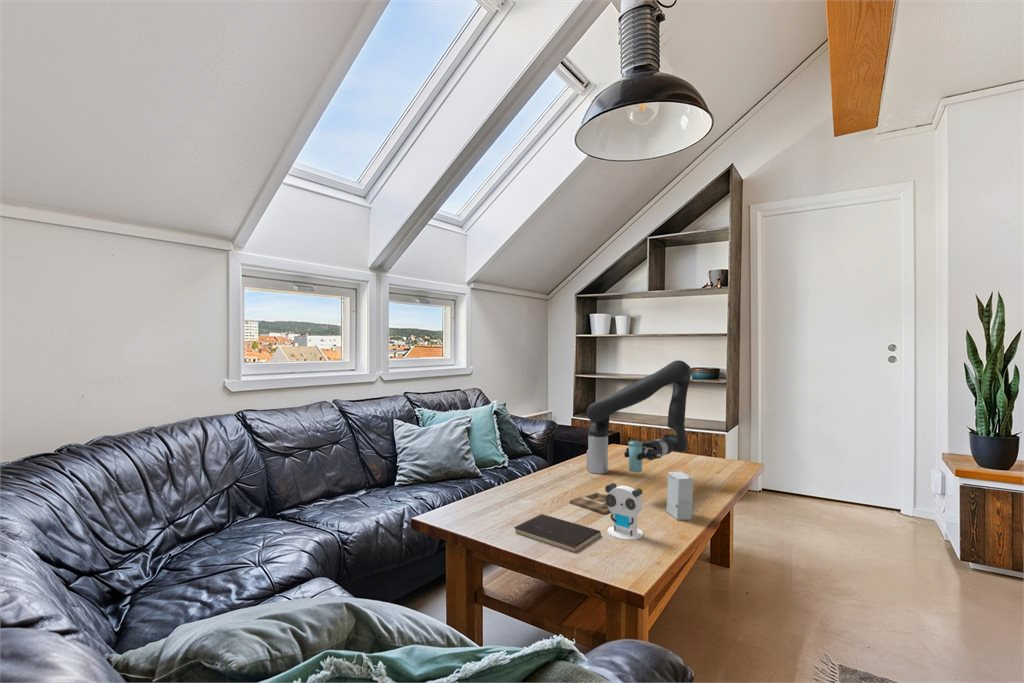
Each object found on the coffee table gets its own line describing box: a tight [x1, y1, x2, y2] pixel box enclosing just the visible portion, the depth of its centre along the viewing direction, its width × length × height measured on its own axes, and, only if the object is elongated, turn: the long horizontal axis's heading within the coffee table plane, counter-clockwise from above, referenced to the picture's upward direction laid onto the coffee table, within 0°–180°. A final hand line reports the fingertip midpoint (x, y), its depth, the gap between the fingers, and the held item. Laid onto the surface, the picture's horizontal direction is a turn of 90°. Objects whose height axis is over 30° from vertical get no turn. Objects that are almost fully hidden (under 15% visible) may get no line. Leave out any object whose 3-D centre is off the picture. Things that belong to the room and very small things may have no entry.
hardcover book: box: [513, 513, 602, 553], centre depth 154 cm, size 16×23×2 cm
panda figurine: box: [604, 482, 644, 541], centre depth 155 cm, size 12×11×15 cm
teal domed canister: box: [627, 440, 644, 473], centre depth 186 cm, size 5×5×11 cm
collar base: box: [569, 491, 611, 515], centre depth 182 cm, size 16×16×2 cm
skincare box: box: [666, 471, 694, 521], centre depth 170 cm, size 8×6×15 cm
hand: (631, 456), depth 184 cm, fingers closed on teal domed canister, 5 cm apart
